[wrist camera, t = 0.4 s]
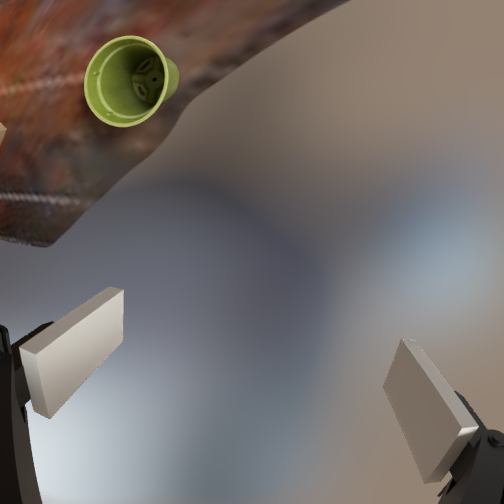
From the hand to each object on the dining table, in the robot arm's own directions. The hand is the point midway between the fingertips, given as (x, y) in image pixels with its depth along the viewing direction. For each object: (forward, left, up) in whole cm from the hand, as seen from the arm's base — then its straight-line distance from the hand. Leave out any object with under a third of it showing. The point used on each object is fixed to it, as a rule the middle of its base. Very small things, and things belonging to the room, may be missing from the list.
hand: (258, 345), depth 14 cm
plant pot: (+1, -19, -28) cm, 34 cm away
